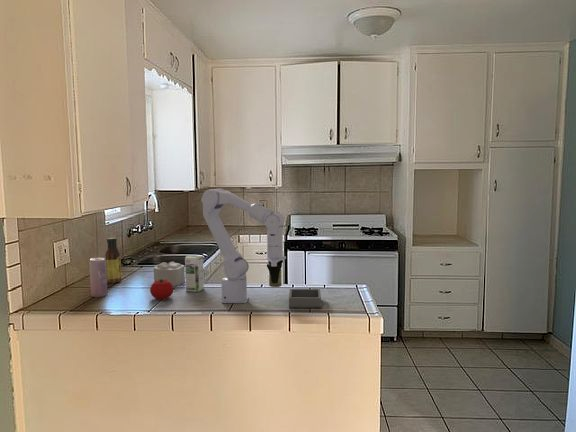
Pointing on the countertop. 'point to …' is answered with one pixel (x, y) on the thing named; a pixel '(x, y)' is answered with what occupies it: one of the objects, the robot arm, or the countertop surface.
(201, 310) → the countertop surface
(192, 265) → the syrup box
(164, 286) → the tomato
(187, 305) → the countertop surface
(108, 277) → the sauce bottle
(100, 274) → the beverage can
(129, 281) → the countertop surface
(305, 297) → the bin
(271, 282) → the green cylinder
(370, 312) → the countertop surface
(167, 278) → the egg container
